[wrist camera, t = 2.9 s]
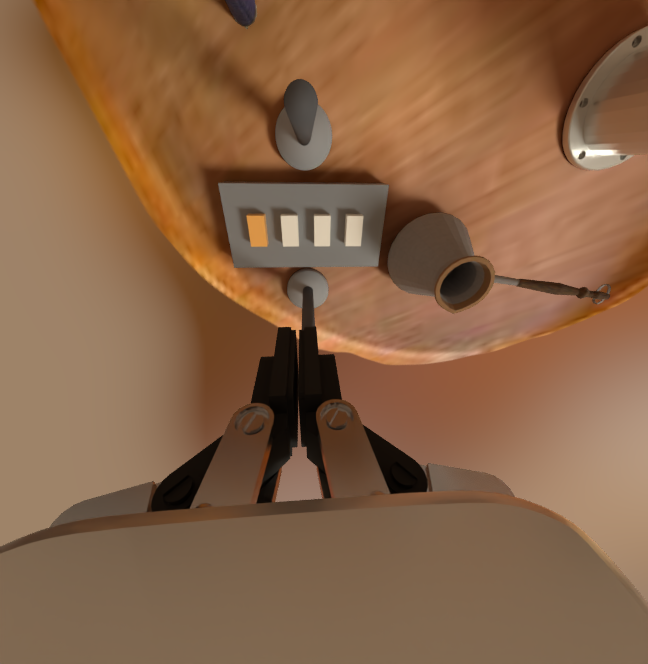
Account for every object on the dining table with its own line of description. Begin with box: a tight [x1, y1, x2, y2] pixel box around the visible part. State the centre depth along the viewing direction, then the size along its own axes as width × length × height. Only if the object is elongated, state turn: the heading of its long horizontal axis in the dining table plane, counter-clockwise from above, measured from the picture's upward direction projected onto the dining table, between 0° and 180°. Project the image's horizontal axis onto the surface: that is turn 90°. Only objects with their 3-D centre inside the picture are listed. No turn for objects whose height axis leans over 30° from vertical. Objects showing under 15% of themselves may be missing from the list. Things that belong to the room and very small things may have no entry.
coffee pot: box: [388, 213, 611, 314], centre depth 32 cm, size 21×12×15 cm, turn 87°
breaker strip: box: [218, 181, 389, 268], centre depth 33 cm, size 20×10×4 cm, turn 89°
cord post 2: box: [287, 268, 328, 330], centre depth 31 cm, size 6×6×21 cm
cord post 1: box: [275, 79, 332, 170], centre depth 21 cm, size 6×6×21 cm
